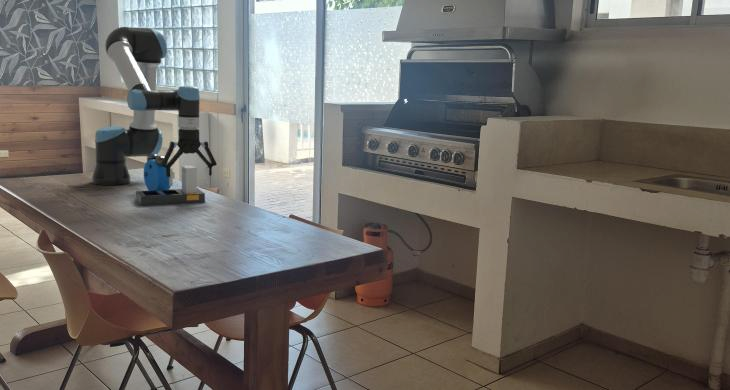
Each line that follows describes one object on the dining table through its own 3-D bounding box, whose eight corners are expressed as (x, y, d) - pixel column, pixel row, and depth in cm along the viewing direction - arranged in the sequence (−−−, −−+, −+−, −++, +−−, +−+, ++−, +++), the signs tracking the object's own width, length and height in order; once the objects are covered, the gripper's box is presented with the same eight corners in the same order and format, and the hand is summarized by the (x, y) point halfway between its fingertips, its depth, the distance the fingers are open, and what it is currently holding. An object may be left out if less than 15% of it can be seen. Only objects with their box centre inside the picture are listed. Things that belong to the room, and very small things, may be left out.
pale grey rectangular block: (181, 196, 253) (181, 165, 251) (192, 196, 255) (192, 165, 253) (185, 200, 247) (185, 168, 245) (197, 199, 249) (196, 168, 247)
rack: (135, 200, 247) (135, 190, 247) (197, 197, 258) (197, 187, 257) (141, 206, 238) (140, 196, 237) (205, 202, 248) (205, 193, 248)
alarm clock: (173, 194, 261) (172, 156, 259) (158, 195, 257) (157, 157, 254) (157, 189, 271) (156, 152, 268) (143, 190, 266) (142, 153, 264)
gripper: (156, 129, 237) (157, 187, 241) (224, 129, 249) (224, 185, 253) (152, 127, 244) (153, 184, 248) (219, 127, 255) (219, 181, 259)
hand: (189, 184), depth 250 cm, fingers open, 13 cm apart
